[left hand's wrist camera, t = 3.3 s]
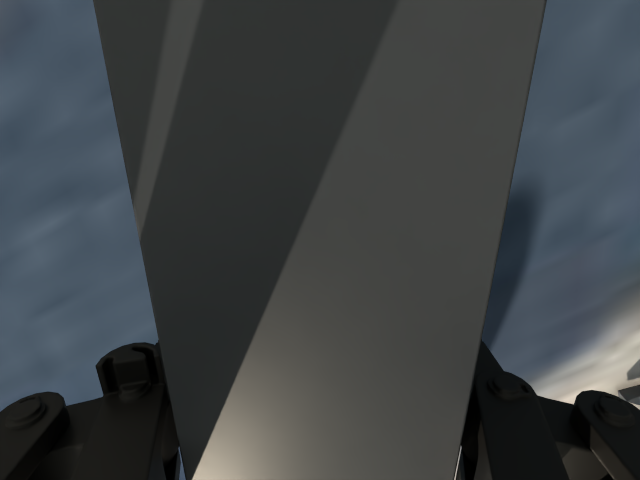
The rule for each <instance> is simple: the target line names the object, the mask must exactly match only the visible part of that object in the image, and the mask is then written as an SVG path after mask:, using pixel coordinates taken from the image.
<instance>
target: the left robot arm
mask: <svg viewBox="0 0 640 480" xmlns="http://www.w3.org/2000/svg"><path fill="white" fill-rule="evenodd" d="M96 369H97V373H98V377H99V380H100V384H101V387H102V391H103V397H101V398H98V399H94V400H90V401H86V402H82V403H77V404H73V405H69V406H66V404H65V401H64V398H63V397H62V396H61V395H60V394H59V393H54V392H43V393H36V394H33V395H30V396H27V397H25V398H22V399H20V400H18V401H16V402H14V403H12V404H11V405H9V406H7V407H6V408H5V409H3V410H2V411H1V412H0V480H179V474H180V464H181V461H180V454H179V449H178V448H179V441H178V436H177V431H176V426H175V421H174V416H173V410H172V405H171V400H170V395H169V390H168V385H167V379H166V374H165V369H164V364H163V359H162V354H161V348H160V343H159V340H158V343H156V345H154V344H150V343H145V342H144V343H132V344H128V345H124V346H121V347H119V348H117V349H115V350H113V351H111V352H109V353H108V354H106V355H105V356H104V357H102V358H101V359H100V361H99V362H98V363H97V365H96ZM461 446H462V449H461V454H460V459H459V464H458V469H457V475H456V480H640V410H639V409H638V408H636V407H635V406H634V405H633V404H631V403H629V402H627V401H625V400H623V399H621V398H620V397H617V396H615V395H612V394H609V393H606V392H601V391H594V390H589V391H582V392H581V393H580V394H579V395H577V397H576V400H575V403H574V405H573V404H569V403H565V402H560V401H556V400H552V399H547V398H544V397H541V396H537V395H536V393H535V392H534V390H533V389H532V387H531V386H530V385H529V384H528V383H526V382H525V381H524V380H523V379H521V378H519V377H518V376H516V375H514V374H512V373H509V372H505V371H503V369H502V368H501V366H500V365H499V363H498V362H497V361H496V359H495V358H494V356H493V355H492V353H491V352H490V351H489V349H488V348H487V346H486V345H485V343H484V342H482V339H481V343H480V348H479V353H478V358H477V363H476V369H475V374H474V379H473V384H472V389H471V395H470V400H469V405H468V410H467V415H466V420H465V426H464V431H463V436H462V441H461Z"/></svg>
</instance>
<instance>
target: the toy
mask: <svg viewBox="0 0 640 480" xmlns="http://www.w3.org/2000/svg"><path fill="white" fill-rule="evenodd" d="M618 395H619V397H620V398H621V399H623V400H625V401H627V402H630V403H634V404H637V405H640V385H637V386H633V387H630V388H626V389H622V390H618Z"/></svg>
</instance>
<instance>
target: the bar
mask: <svg viewBox="0 0 640 480" xmlns="http://www.w3.org/2000/svg"><path fill="white" fill-rule="evenodd" d="M546 1H547V0H93V2H94V7H95V12H96V18H97V23H98V28H99V33H100V38H101V43H102V49H103V54H104V59H105V64H106V69H107V74H108V80H109V85H110V90H111V95H112V100H113V105H114V111H115V116H116V121H117V126H118V131H119V137H120V142H121V147H122V152H123V157H124V162H125V168H126V173H127V178H128V183H129V188H130V193H131V199H132V204H133V209H134V214H135V219H136V224H137V230H138V235H139V240H140V245H141V250H142V255H143V261H144V266H145V271H146V276H147V281H148V286H149V292H150V297H151V302H152V307H153V312H154V317H155V323H156V328H157V333H158V338H159V343H160V348H161V354H162V359H163V364H164V369H165V374H166V379H167V385H168V390H169V395H170V400H171V405H172V410H173V416H174V421H175V426H176V431H177V436H178V441H179V447H180V452H181V457H182V462H183V467H184V472H185V478H186V480H454V477H455V472H456V467H457V462H458V457H459V451H460V446H461V441H462V436H463V431H464V426H465V420H466V415H467V410H468V405H469V400H470V395H471V389H472V384H473V379H474V374H475V369H476V363H477V358H478V353H479V348H480V343H481V338H482V332H483V327H484V322H485V317H486V312H487V307H488V301H489V296H490V291H491V286H492V281H493V276H494V270H495V265H496V260H497V255H498V250H499V245H500V239H501V234H502V229H503V224H504V219H505V213H506V208H507V203H508V198H509V193H510V188H511V182H512V177H513V172H514V167H515V162H516V157H517V151H518V146H519V141H520V136H521V131H522V126H523V120H524V115H525V110H526V105H527V100H528V95H529V89H530V84H531V79H532V74H533V69H534V63H535V58H536V53H537V48H538V43H539V38H540V32H541V27H542V22H543V17H544V12H545V7H546Z"/></svg>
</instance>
